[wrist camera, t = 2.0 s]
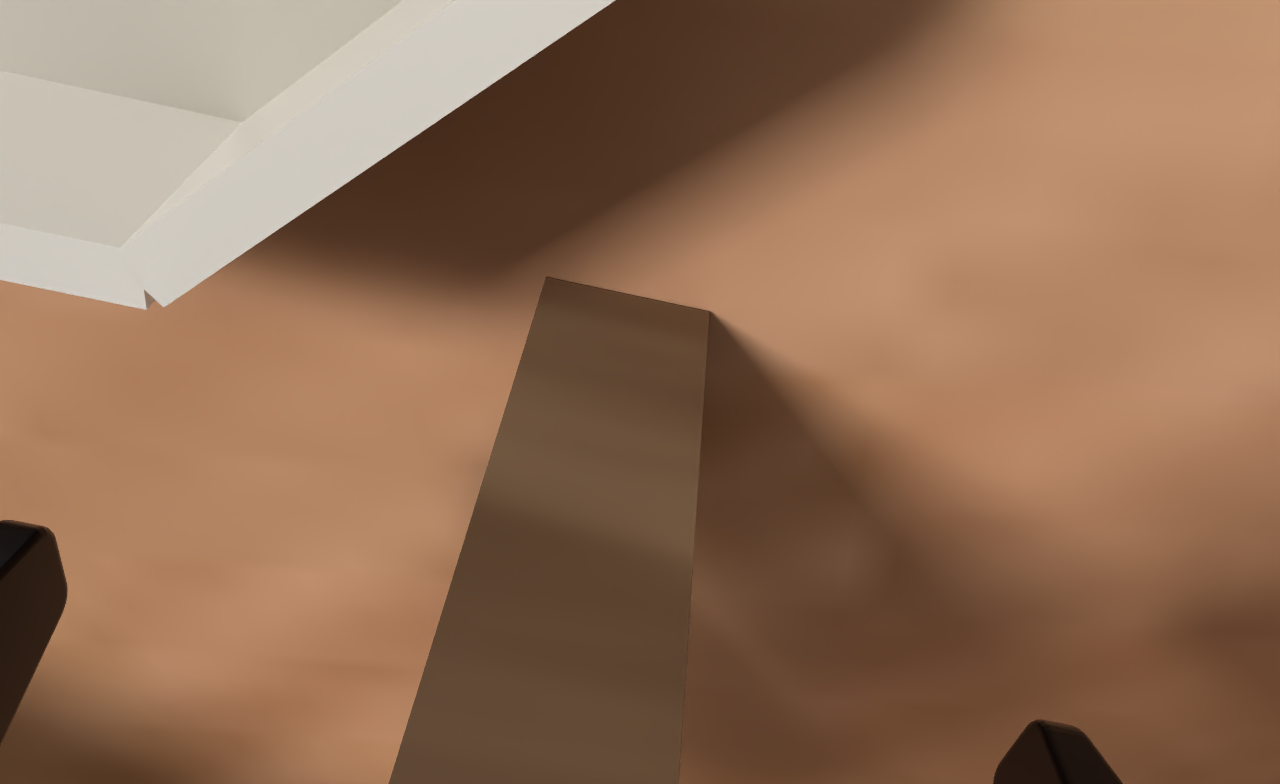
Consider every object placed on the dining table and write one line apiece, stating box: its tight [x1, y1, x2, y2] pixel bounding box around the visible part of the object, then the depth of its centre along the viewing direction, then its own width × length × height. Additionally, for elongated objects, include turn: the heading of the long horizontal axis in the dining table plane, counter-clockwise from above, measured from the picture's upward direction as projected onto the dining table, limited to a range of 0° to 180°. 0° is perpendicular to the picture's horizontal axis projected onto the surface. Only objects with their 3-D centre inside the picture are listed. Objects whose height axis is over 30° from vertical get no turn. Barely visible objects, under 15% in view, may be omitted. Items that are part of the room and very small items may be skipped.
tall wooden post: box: [389, 277, 710, 784], centre depth 10 cm, size 2×2×8 cm
